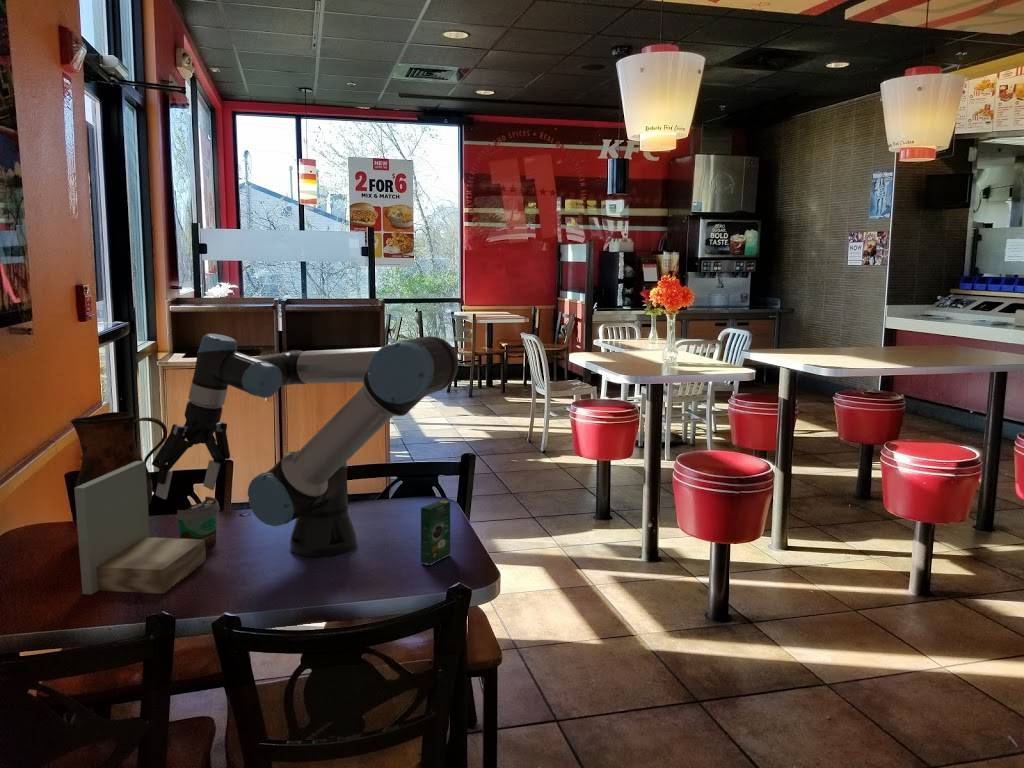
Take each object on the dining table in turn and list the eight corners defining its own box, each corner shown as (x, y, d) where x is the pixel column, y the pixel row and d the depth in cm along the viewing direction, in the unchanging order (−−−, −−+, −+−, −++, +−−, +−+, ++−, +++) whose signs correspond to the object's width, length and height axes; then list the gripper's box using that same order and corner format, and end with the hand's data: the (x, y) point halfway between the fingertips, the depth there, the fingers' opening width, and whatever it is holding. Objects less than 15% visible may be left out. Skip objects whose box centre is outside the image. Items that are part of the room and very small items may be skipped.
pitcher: (89, 527, 200) (81, 410, 196) (180, 522, 205) (173, 407, 200) (67, 550, 184) (57, 423, 180) (166, 544, 189) (158, 419, 184)
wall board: (151, 555, 182) (145, 461, 178) (92, 594, 160) (83, 488, 157) (142, 554, 182) (136, 460, 178) (82, 594, 160) (74, 487, 157)
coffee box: (441, 553, 184) (440, 498, 182) (451, 555, 182) (451, 500, 180) (419, 564, 177) (419, 507, 175) (430, 567, 175) (429, 509, 173)
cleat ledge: (206, 560, 178) (204, 539, 178) (163, 593, 161) (162, 569, 160) (146, 558, 180) (145, 537, 179) (98, 590, 162) (96, 566, 161)
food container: (202, 554, 182) (200, 512, 181) (178, 552, 183) (175, 510, 182) (231, 537, 194) (229, 497, 192) (208, 535, 195) (206, 495, 194)
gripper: (234, 395, 190) (215, 478, 193) (147, 400, 167) (127, 494, 170) (257, 405, 187) (238, 490, 190) (172, 411, 164) (151, 507, 167)
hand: (185, 492), depth 180 cm, fingers open, 13 cm apart
